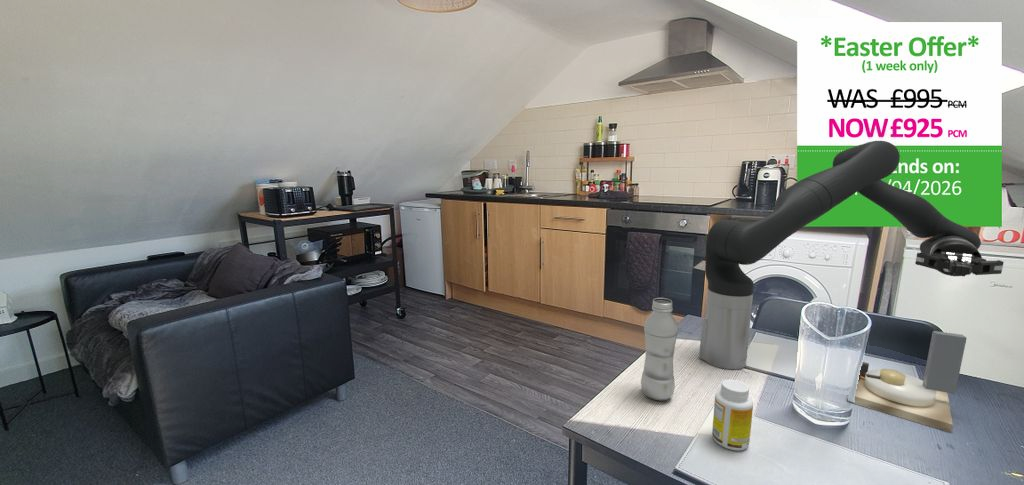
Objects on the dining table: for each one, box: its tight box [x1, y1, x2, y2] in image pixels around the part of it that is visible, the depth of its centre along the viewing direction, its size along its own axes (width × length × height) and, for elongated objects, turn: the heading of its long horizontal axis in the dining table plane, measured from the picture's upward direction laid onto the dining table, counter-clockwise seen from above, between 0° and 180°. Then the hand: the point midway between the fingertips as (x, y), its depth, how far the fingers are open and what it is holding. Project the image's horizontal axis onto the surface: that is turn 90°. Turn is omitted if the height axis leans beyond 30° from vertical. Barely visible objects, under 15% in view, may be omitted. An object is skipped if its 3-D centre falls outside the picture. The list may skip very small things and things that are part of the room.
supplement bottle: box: [711, 378, 754, 452], centre depth 68 cm, size 6×6×10 cm
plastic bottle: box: [640, 297, 679, 402], centre depth 81 cm, size 6×7×20 cm
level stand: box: [854, 361, 954, 433], centre depth 80 cm, size 14×14×4 cm
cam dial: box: [864, 330, 967, 407], centre depth 78 cm, size 12×10×13 cm
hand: (961, 270), depth 79 cm, fingers closed
